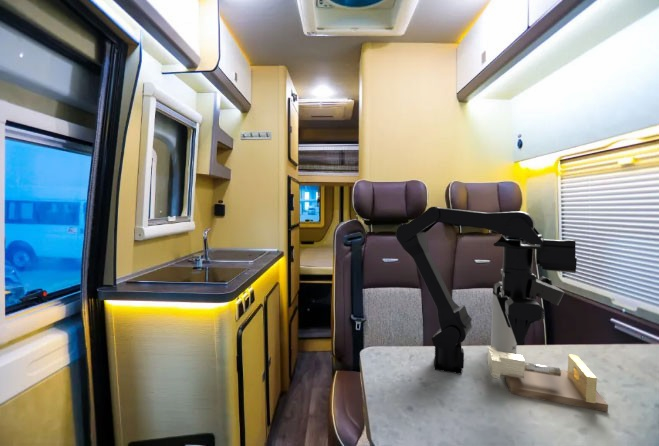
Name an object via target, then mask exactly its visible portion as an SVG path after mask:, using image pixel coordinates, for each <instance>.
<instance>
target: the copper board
mask: <svg viewBox="0 0 659 446" xmlns="http://www.w3.org/2000/svg"><path fill="white" fill-rule="evenodd" d="M560 371H561V376H560V377H559V376H553V375H547V374H541V373H535V372H529V371H524V378H520V377H514V376H508V375H504V378H505V382H506V384H507V386H508V389H509V392H510V394H511V395H515V396H520V397H521V396H522V397H527V398H532V399H536V400H544V401H549V402H553V403H559V404H564V405H569V406H574V407H580V408H585V409H591V410H596V411H603V412H606V413H607V412H609V404H608V402H607V401H606V399H604V397H603V396H602V395H601V394H600V393H599V391H597V390H596V403H590V402H586V401H585V400H584V399H583V397H582V396H581V394H580V393H579V392H578V390H577V389H576V387H575V386H574V385H573V383H572V382H571V381H570V379H569V378H568V376H567V374H568V370H563V369H560Z"/></svg>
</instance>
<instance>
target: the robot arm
mask: <svg viewBox="0 0 659 446" xmlns="http://www.w3.org/2000/svg"><path fill="white" fill-rule="evenodd" d="M438 223H443V224H449V225H456V226H457V225H458V226H465V227H472V228H479V229H485V230H487V231H488V230H489V231H492V232H494V233H496V234H500V235H501V236H500V238H499V239H498V240H496V241H495V242H494V243H493V246H494V247H499V248H500V247H501V248H502V250H503V251H502V268H500V274H501V276H502V278H501V281H497V282H495V283H496V284H495V283H494V284H495V293H496V297H497V300H498V302H499V305H500V307H501V310H502V313H503V315H504V318H505V320H506V323H507V325H508V327H509V328H511V329H512V332H513V335H514V337H515V340H516V343H517V345H523V344H524V342H525V339H526V337H527V334H528V332H529V330H530V327H531V325H532V324H533V323H536V322H541V320H545V309H544V307H542V305H540V303H538V302H537V301H536V300H537V298H539V299H542V300H544V301H548V302H549V303H551V304H552V305H555V306H559V304H560V302H561V301H562V298H563V296H564V294H565V291H564V290H562V289H561V288H559V287H558V286H556V285H553V282H552V280H551V279H550V278H548V277H545V276H543V275H542V276H540V277H539V278H537V275H536V274H534V273H533V263H534V261H533V259H534V250H536V255H535V257H536V259H535V261H536V263H535V264H536V265H537V266H539V267H541V268H542V269H541V271H550V272H561V273H567V274H570V273H571V274H576V272H577V262H578V261H577V260H578V257H577V255H576V252H577V251H576V245H577V243H576V240H575V239H548V238H547V239H546V238H545V237H544V236H542V233H540V232H539V231H538V230H537V228H536V227H535V226H536V225H535V220H534V218H533V216H532V215H531V214H530V213H528V212H525V211H502V212H501V211H500V212H483V211H474V210H464V209H456V208H455V209H454V208H446V207H441V206H430V207H428V208H427V209H426V210H425V211H424V212H423V213H421V214H419V215H418V216H417V217H415V218H413V219H412V220H411V221H409V222H407V223H402V224H401V225H399V226H398V228H397V229H396V232H395V238H396V240H397V242H398V243H399V245H400V246H401V247H402V249H403V251H405V252H406V253H407V254H408V255H409V256H410V257H411V258H412V259H413V262H414V263H415V266H416V268H417V270H418V272H419V274H420V277H421V278H422V280H423V282H424V285H425V286H426V289H427V291H428V293H429V295H430V297H431V299H432V301H433V303H434V306H435V307H436V312H437V321H438V322H437V323H438V325H439V329H438V330H437V331H436V333H435V334H433V336H432V337H431V340H432V343H433V346H434V359H433V361H434V363H433V369H434V370H436V371H442V372H446V373H452V374H459V375H462V374H463V373H462V372H463V369H464V367H465V366H464V364H465V363H464V361H465V352H464V351H465V350H464V348H462V343H463V342H464V341H465V340H466V339H467V336H468V335H469V334H470V332H471V330H472V327H473V326H472V320H473V318H472V317H471V316H470V315H469V312H468V311H467V308H466V305H465V304H462V305H461V306H459V304H457V303H456V302H455V301H454V299H453V297H452V295H451V294H450V292H449V290H448V289H449V288H448V287H447V285H446V283H445V282H444V280H443V277H442V275H441V273H440V271H439V269H438V267H437V265H436V263H435V261H434V258H433V257H432V255H431V253H430V251H429V244H428V242H429V241H428V237H427V232H430V230H431V229H433V228H434V227H435V226H436V225H437V224H438ZM505 236H506V237H505ZM507 237H509V238H511V239H508V238H507ZM513 238H514V239H513ZM521 239H522V240H523V241H524V242H526V243H528V244H525V243H523V242H522V240H521ZM499 292H500V294H499Z"/></svg>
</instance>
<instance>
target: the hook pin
mask: <svg viewBox="0 0 659 446" xmlns="http://www.w3.org/2000/svg"><path fill="white" fill-rule="evenodd" d="M487 365H488V370H489V373H490V376H491V378H495V379H500V377H501V375H503V376H505V375H508V376H514V377H520V378H524V371H529V372H535V373H541V374H547V375H553V376H559V377H560V376H561V371H560V370H561V368H560V367H556V366H552V365H551V366H550V365H543V364H537V363H531V362H526V361H525V358H524V357H523V355H522V354H518V353H516V354H512V353H505V352H498V351H496V348H495V347H491V346H487Z"/></svg>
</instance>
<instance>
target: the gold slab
mask: <svg viewBox="0 0 659 446" xmlns="http://www.w3.org/2000/svg"><path fill="white" fill-rule="evenodd" d="M567 371H568V374H567V376H568V378H569V379H570V381H571V382H572V383H573V385H574V386H575V387H576V389H577V390H578V392H579V393H580V394H581V396H582V397H583V399H584V400H585V401H586V402H590V403H596V391H597V384H598V383H597V380H598V379H597V377H596V375H595V374H594V373H593V372H592V371H591V370H590V369H589V367H587V365H586V364H585V363H584V362H583V361H582V359H580V357H579V356H578V355H577V354H568V355H567Z"/></svg>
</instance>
